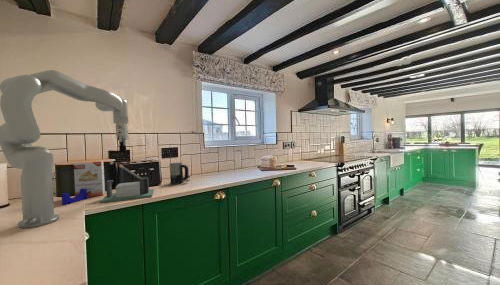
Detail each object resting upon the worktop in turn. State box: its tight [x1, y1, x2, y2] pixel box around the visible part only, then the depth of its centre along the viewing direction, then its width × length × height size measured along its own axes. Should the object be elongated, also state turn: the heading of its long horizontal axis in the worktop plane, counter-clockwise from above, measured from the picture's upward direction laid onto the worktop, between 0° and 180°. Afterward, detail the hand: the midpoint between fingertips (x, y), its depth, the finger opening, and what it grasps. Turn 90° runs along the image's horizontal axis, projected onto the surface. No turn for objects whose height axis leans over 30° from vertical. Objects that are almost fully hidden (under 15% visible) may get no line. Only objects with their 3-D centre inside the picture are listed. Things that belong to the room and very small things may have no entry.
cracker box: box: [73, 160, 106, 198], centre depth 137 cm, size 14×6×21 cm, turn 112°
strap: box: [118, 164, 142, 180], centre depth 133 cm, size 16×3×1 cm
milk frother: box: [169, 162, 191, 185], centre depth 172 cm, size 14×16×15 cm
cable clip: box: [61, 189, 88, 206], centre depth 126 cm, size 12×4×6 cm, turn 169°
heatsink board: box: [100, 176, 154, 204], centre depth 133 cm, size 18×25×10 cm
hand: (123, 152), depth 132 cm, fingers closed
